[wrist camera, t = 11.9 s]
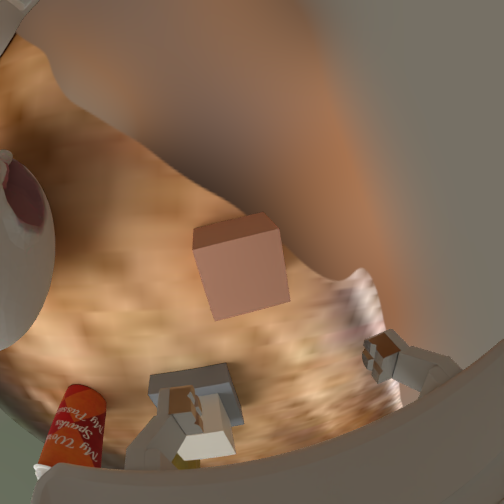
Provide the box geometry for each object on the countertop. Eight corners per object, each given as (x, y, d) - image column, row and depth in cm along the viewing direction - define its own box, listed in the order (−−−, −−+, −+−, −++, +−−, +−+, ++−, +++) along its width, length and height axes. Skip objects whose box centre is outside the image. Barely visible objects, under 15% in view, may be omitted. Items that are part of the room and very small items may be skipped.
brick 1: (165, 401, 26) (163, 437, 21) (217, 393, 26) (223, 430, 22) (183, 427, 28) (184, 460, 23) (230, 420, 29) (236, 454, 24)
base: (150, 375, 28) (147, 394, 25) (226, 362, 29) (229, 382, 26) (176, 416, 31) (176, 434, 28) (240, 406, 32) (244, 424, 29)
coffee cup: (115, 389, 28) (98, 494, 14) (114, 421, 30) (104, 509, 16) (55, 370, 25) (21, 465, 12) (62, 404, 28) (41, 487, 14)
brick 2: (193, 228, 23) (192, 250, 18) (263, 211, 23) (279, 228, 19) (211, 289, 25) (214, 321, 20) (274, 273, 26) (290, 301, 21)
